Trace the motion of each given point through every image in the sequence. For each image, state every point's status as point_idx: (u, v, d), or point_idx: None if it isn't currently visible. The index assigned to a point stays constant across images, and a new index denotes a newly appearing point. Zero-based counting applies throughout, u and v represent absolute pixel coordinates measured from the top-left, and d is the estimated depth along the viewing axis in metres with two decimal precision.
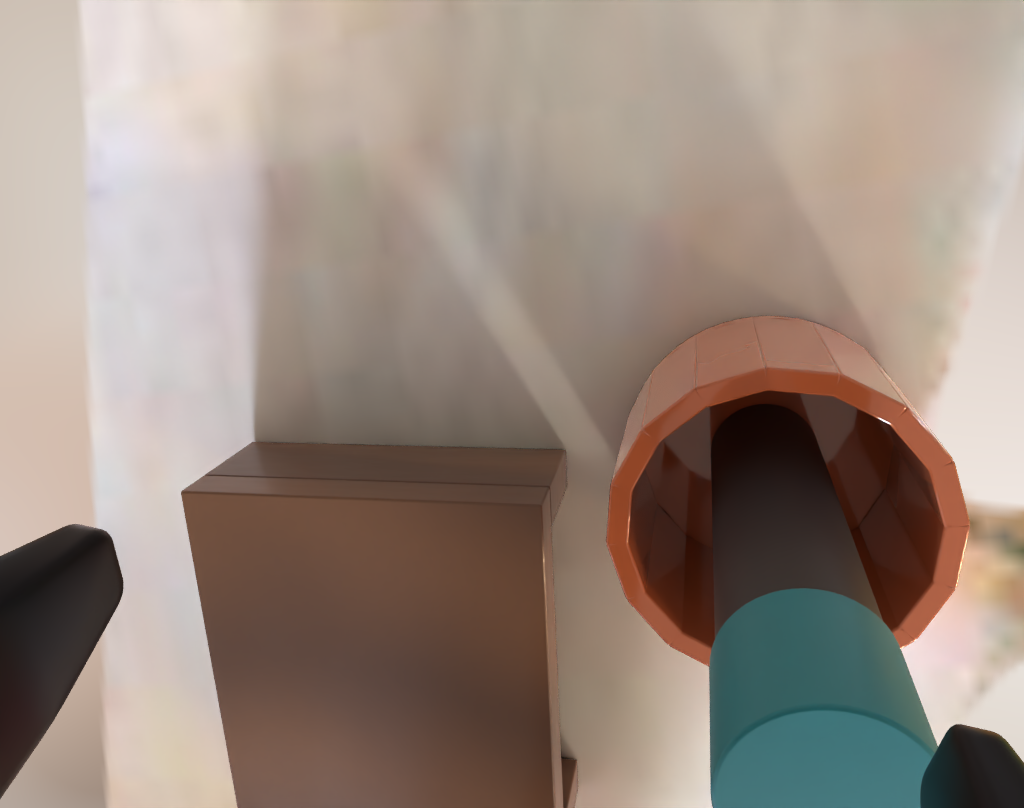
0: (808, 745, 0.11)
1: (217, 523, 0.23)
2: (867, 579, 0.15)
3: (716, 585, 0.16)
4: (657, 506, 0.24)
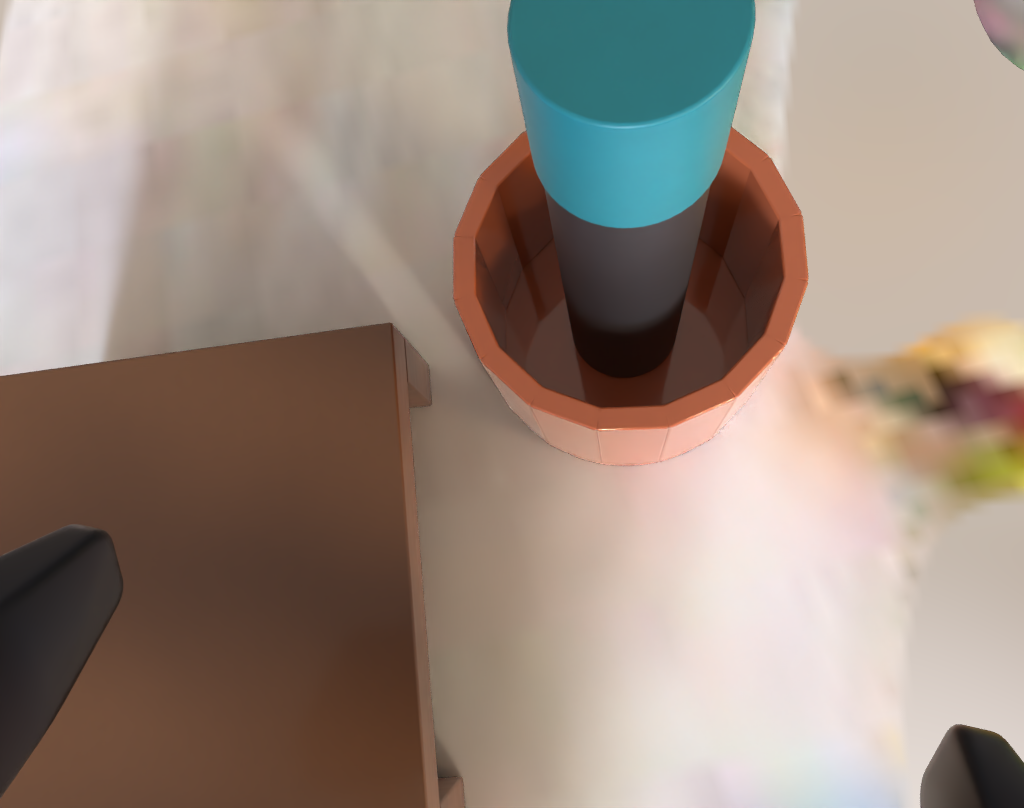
0: None
1: (32, 406, 0.21)
2: None
3: None
4: None
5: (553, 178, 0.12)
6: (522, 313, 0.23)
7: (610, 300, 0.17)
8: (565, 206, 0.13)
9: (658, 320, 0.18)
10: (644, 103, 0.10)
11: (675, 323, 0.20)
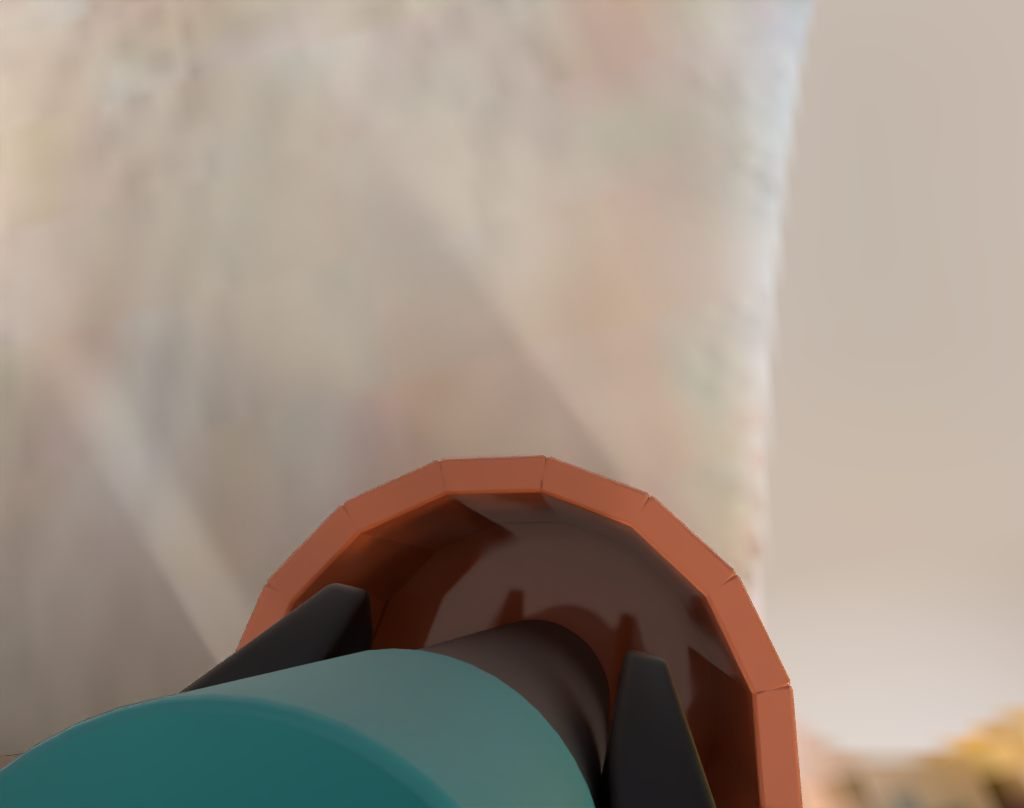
0: None
1: None
2: (574, 719, 0.08)
3: None
4: None
5: None
6: None
7: None
8: None
9: None
10: None
11: None
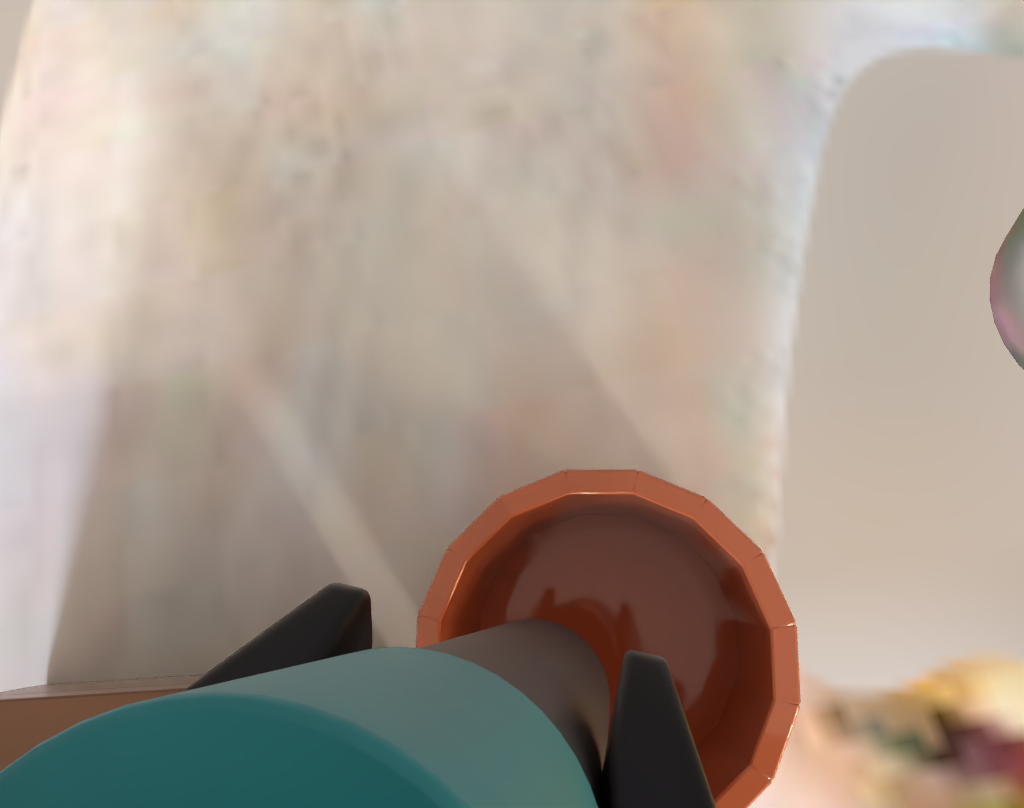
0: None
1: None
2: (575, 718, 0.08)
3: None
4: None
5: None
6: (498, 617, 0.22)
7: None
8: None
9: None
10: None
11: None
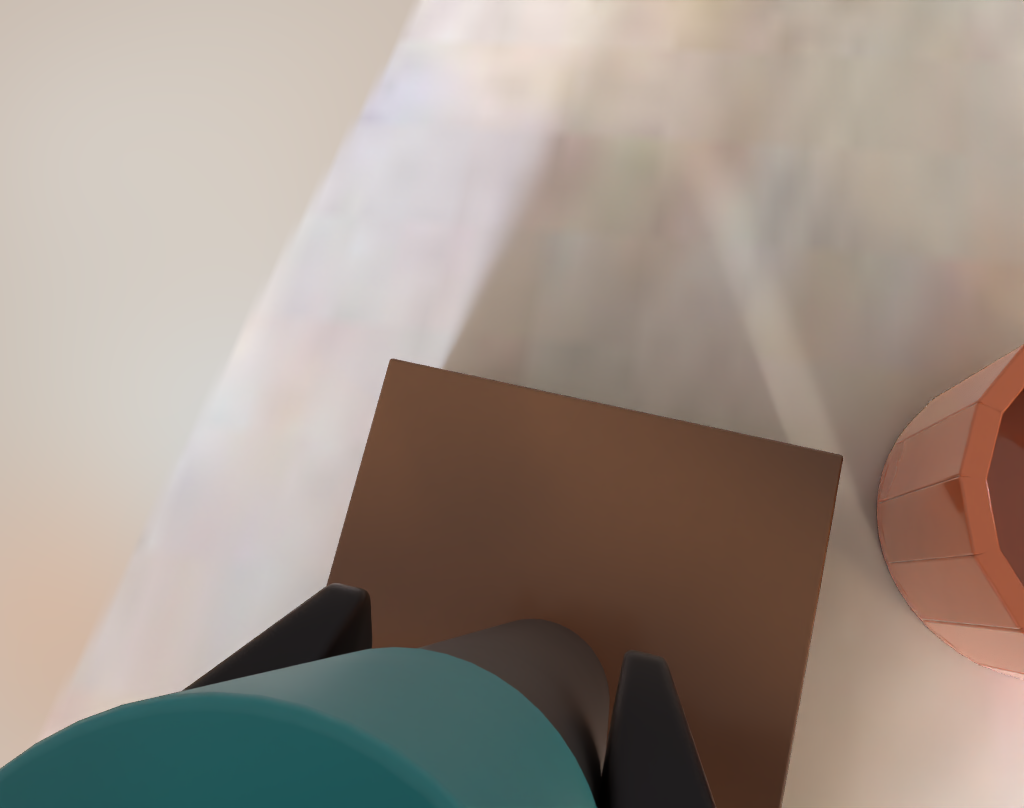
0: None
1: (420, 404, 0.19)
2: (574, 718, 0.08)
3: None
4: None
5: None
6: None
7: None
8: None
9: None
10: None
11: None
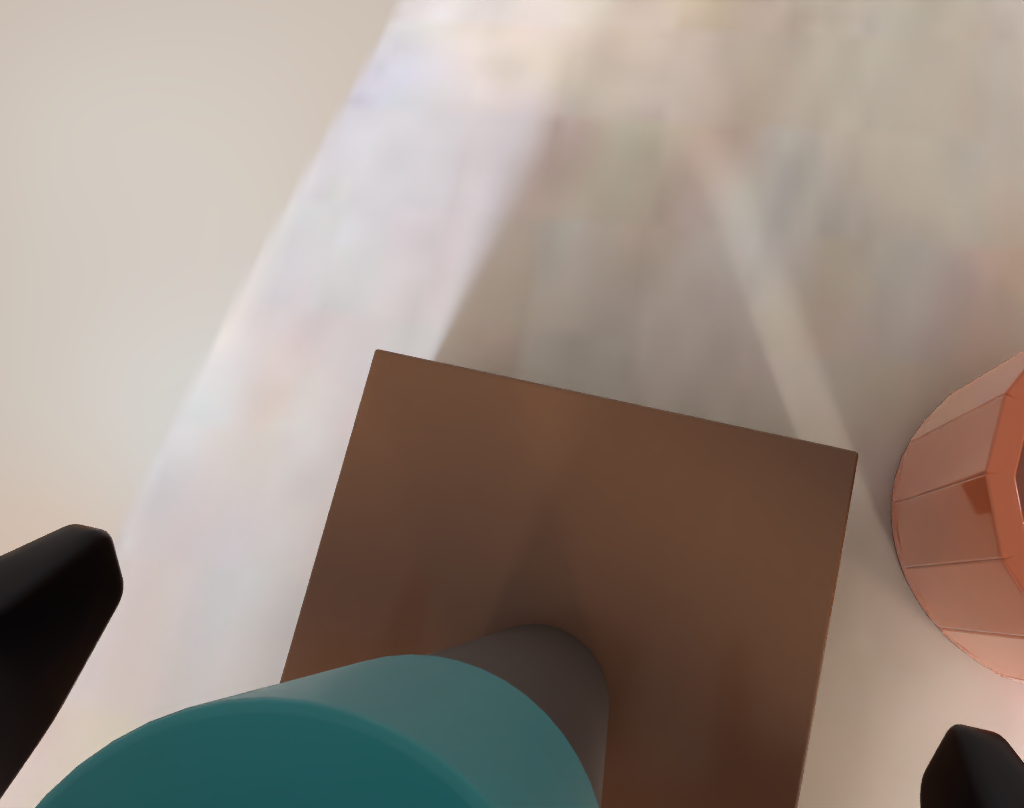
0: None
1: (407, 398, 0.18)
2: (576, 719, 0.08)
3: None
4: None
5: None
6: None
7: None
8: None
9: None
10: None
11: None
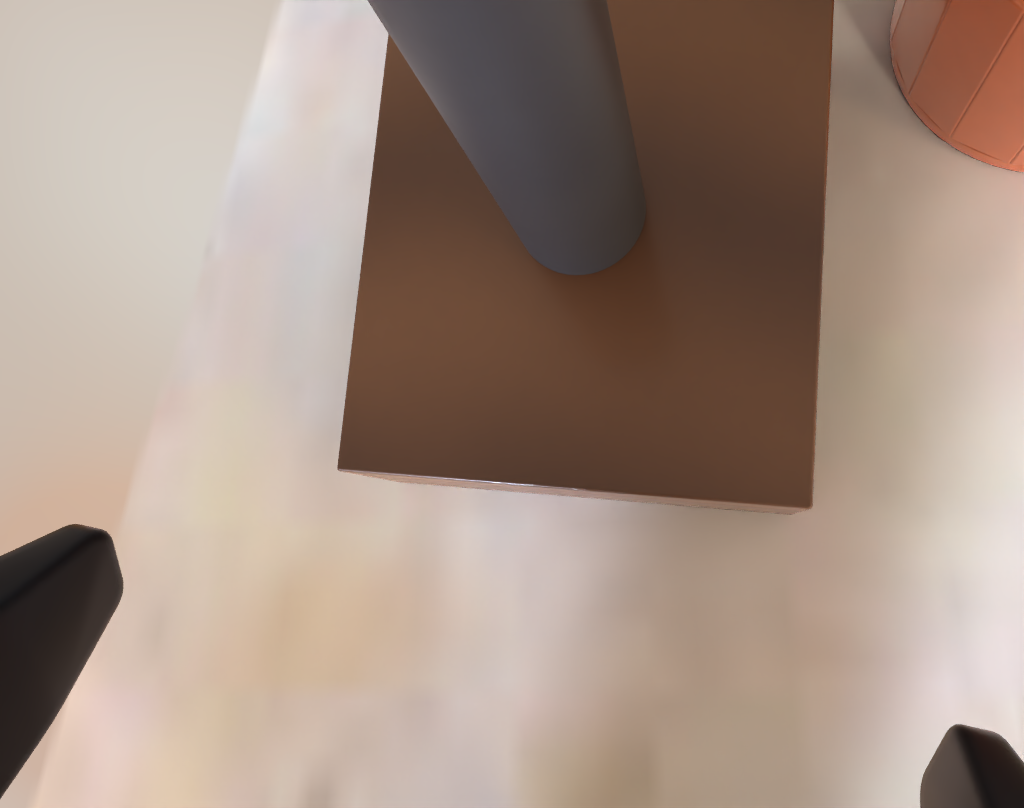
0: None
1: None
2: None
3: None
4: None
5: None
6: None
7: (509, 146, 0.12)
8: None
9: (593, 173, 0.14)
10: None
11: (628, 183, 0.15)
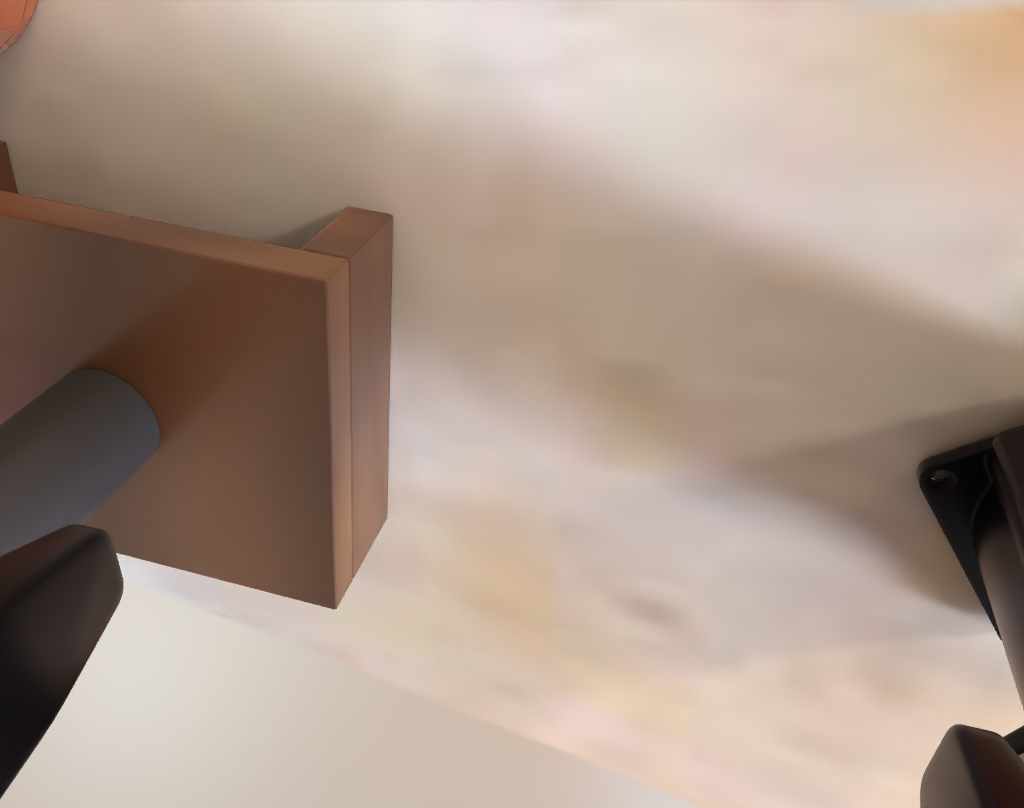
0: None
1: None
2: None
3: None
4: None
5: None
6: None
7: None
8: None
9: (9, 508, 0.17)
10: None
11: (40, 439, 0.18)
